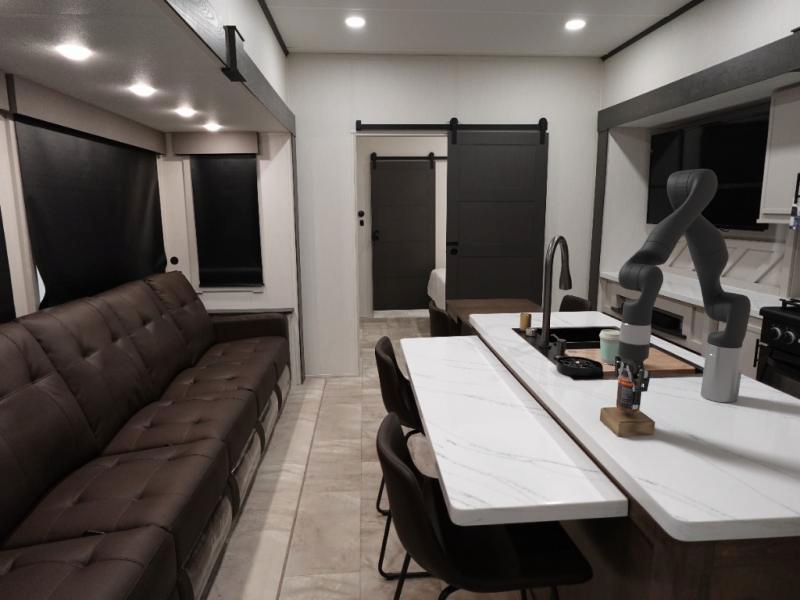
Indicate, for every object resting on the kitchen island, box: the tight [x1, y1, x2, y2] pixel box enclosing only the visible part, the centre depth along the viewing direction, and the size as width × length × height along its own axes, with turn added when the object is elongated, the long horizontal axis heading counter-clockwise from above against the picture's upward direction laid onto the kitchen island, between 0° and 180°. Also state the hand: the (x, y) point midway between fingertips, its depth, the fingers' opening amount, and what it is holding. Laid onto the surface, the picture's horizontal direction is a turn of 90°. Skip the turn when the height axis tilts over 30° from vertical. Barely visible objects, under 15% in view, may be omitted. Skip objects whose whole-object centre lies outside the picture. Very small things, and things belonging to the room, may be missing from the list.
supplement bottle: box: [615, 368, 642, 412], centre depth 142 cm, size 6×6×11 cm
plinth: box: [599, 406, 656, 437], centre depth 144 cm, size 10×10×4 cm
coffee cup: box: [598, 329, 620, 364], centre depth 199 cm, size 8×8×12 cm
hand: (628, 399), depth 143 cm, fingers closed on supplement bottle, 6 cm apart
